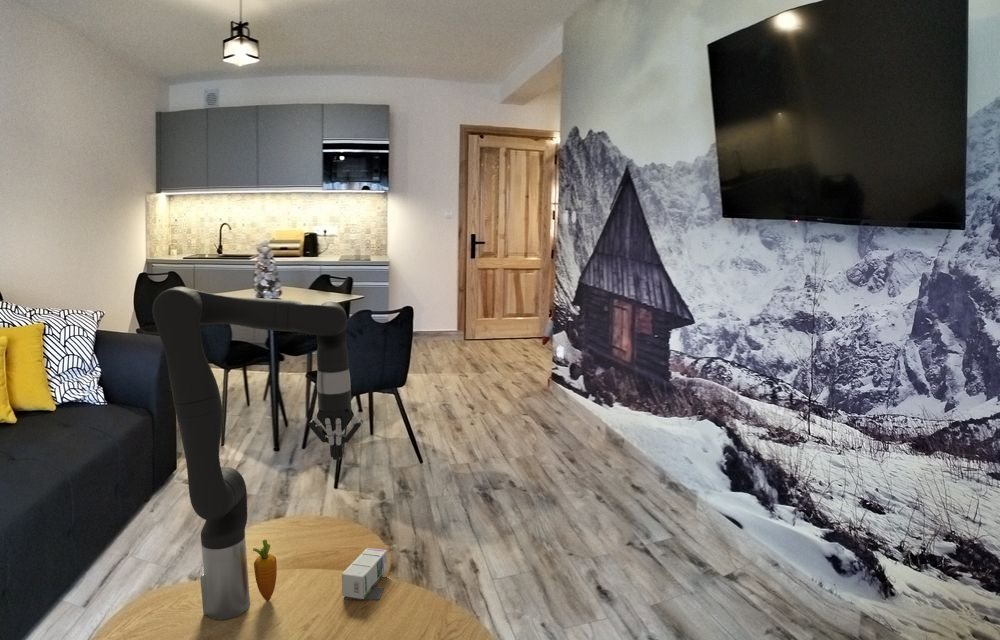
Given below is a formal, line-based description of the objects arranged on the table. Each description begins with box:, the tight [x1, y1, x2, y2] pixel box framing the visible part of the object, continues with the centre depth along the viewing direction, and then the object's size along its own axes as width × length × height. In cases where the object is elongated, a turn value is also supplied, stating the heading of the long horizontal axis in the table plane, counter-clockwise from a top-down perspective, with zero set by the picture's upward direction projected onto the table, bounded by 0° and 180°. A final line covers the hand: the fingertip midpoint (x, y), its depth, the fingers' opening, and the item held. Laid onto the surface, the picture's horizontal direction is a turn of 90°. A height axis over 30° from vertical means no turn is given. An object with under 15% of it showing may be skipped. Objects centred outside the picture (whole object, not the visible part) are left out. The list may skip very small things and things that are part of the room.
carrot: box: [252, 539, 278, 602], centre depth 152 cm, size 5×5×15 cm
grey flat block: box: [343, 587, 384, 601], centre depth 156 cm, size 8×4×1 cm, turn 88°
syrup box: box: [341, 547, 388, 600], centre depth 160 cm, size 6×6×14 cm
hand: (337, 458), depth 154 cm, fingers closed
